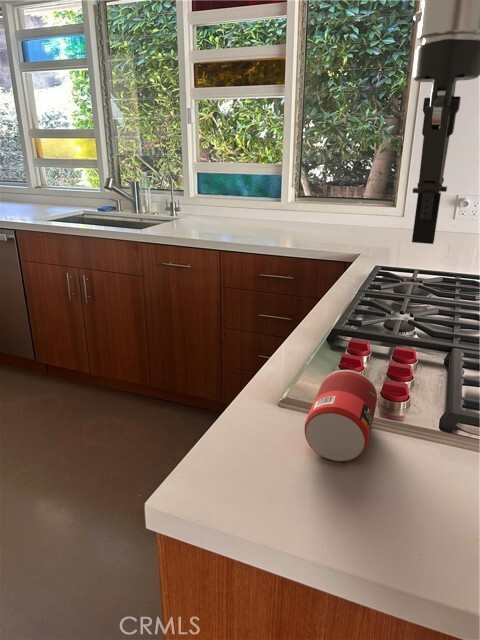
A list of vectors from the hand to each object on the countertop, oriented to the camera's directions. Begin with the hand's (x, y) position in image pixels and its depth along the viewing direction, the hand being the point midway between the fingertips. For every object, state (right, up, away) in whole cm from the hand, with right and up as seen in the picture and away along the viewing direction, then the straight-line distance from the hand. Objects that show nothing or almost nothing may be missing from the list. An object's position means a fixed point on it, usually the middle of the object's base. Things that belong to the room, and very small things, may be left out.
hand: (422, 241), depth 63 cm
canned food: (-13, -25, -6) cm, 29 cm away
